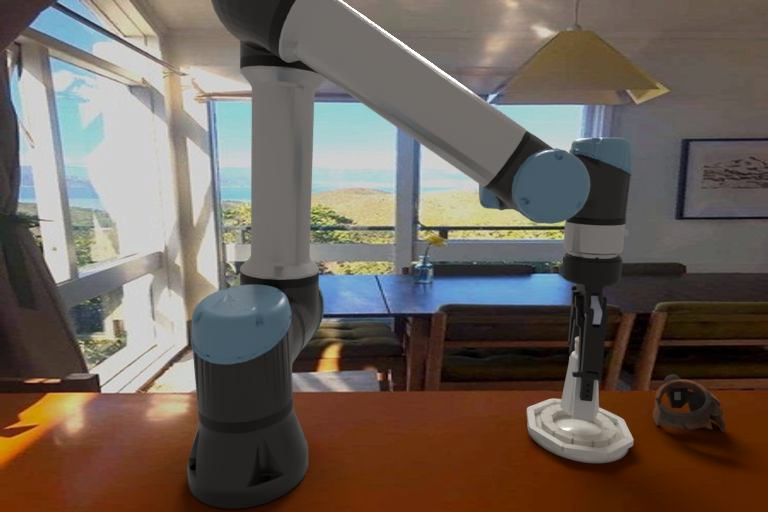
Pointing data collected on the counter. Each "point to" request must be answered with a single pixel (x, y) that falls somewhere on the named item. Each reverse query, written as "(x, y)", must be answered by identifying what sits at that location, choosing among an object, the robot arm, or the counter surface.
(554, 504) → the counter surface
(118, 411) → the counter surface
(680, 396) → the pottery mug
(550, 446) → the dish
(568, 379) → the pepper shaker
